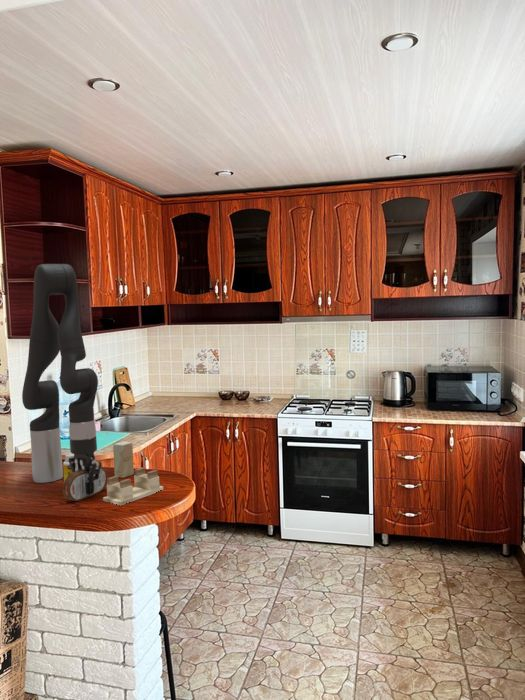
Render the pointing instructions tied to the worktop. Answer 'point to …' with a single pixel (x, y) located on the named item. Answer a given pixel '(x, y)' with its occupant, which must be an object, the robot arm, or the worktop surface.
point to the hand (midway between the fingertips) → (86, 492)
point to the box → (123, 459)
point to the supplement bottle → (67, 465)
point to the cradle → (126, 492)
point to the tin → (82, 485)
